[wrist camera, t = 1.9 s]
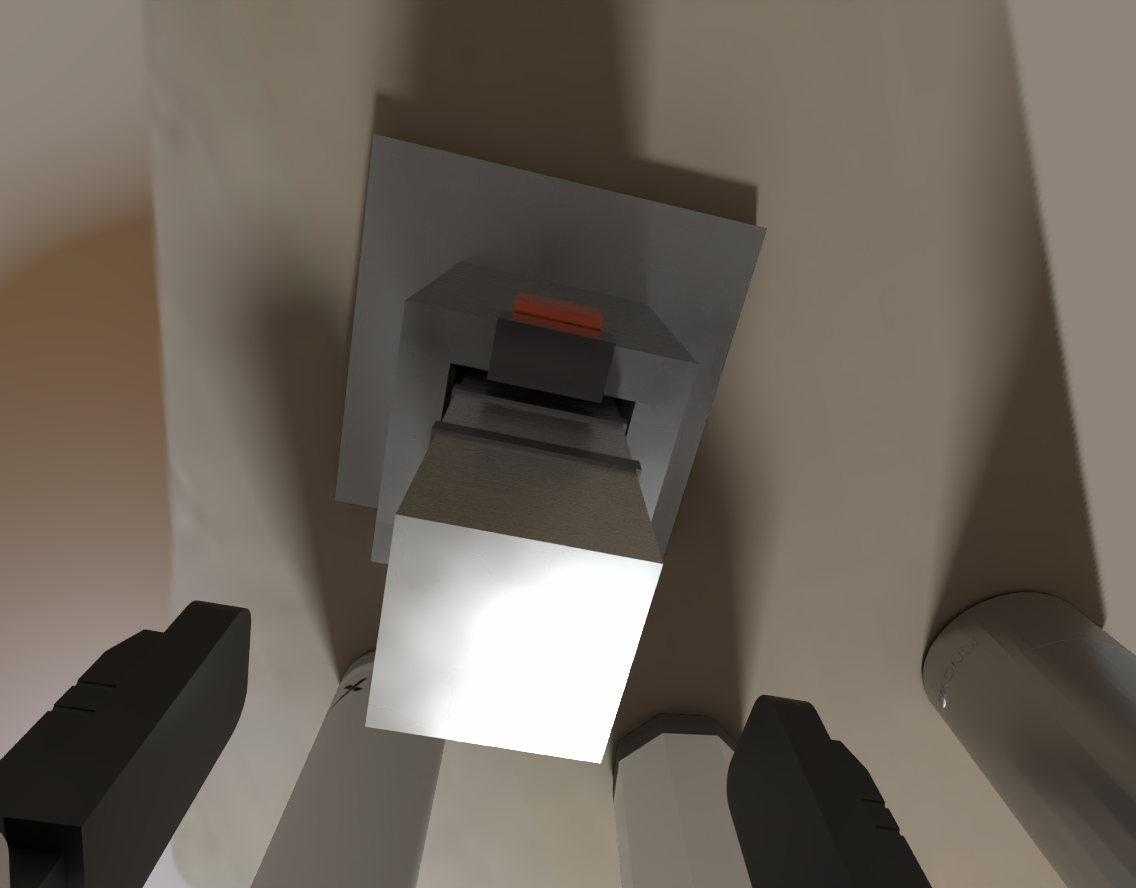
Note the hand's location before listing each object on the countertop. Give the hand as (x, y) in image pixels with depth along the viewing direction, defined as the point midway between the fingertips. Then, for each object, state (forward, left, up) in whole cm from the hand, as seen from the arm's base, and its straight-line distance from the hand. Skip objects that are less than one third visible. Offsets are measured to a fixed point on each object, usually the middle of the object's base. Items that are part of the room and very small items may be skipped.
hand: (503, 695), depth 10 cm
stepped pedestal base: (0, 0, -21) cm, 21 cm away
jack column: (0, 0, -19) cm, 19 cm away
